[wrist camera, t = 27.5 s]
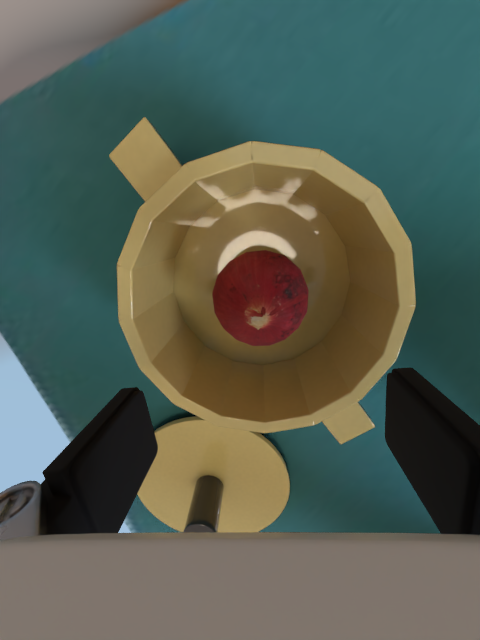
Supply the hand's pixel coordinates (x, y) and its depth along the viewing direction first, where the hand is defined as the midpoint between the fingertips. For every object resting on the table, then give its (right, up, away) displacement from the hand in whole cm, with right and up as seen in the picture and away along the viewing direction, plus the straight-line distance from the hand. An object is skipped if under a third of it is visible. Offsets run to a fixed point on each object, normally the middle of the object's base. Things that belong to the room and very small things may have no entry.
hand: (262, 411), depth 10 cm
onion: (+1, +6, +10) cm, 12 cm away
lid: (-4, -13, +16) cm, 21 cm away
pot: (+1, +6, +10) cm, 12 cm away
